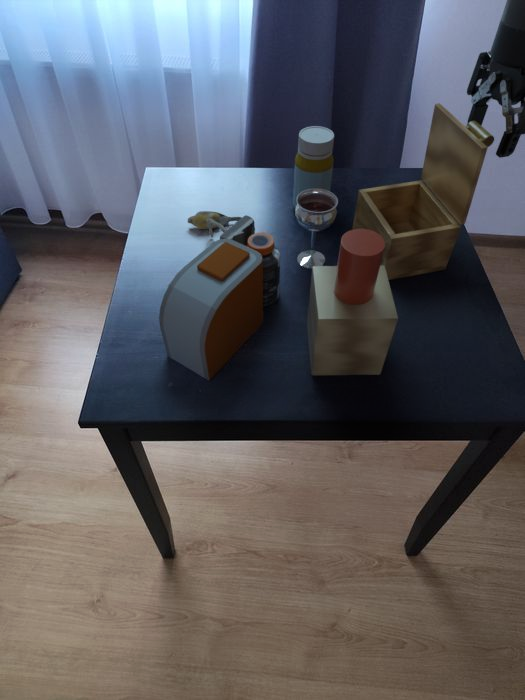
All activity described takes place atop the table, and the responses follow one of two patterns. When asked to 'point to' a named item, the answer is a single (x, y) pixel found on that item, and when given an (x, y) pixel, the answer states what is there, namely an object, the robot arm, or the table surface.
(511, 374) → the table surface
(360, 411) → the table surface
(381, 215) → the box
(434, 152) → the lid
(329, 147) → the bottle
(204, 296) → the alarm clock
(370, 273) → the spice tin
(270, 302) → the pill bottle
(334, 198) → the wineglass
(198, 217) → the decorative sculpture
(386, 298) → the block
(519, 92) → the robot arm
